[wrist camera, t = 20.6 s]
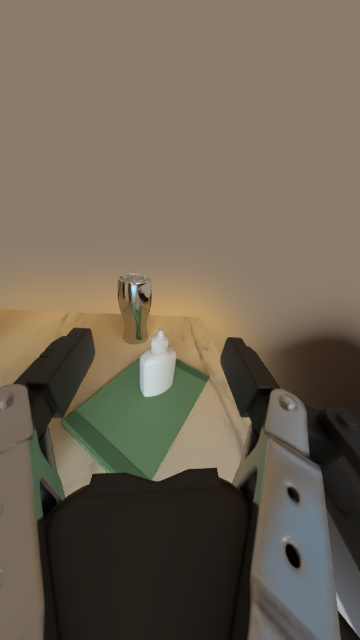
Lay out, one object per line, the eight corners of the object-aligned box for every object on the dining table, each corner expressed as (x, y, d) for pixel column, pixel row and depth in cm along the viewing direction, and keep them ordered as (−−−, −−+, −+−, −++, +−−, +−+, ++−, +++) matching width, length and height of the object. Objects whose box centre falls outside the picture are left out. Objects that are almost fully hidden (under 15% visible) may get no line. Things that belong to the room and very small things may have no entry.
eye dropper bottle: (142, 376, 30) (142, 320, 24) (172, 376, 31) (179, 323, 24) (138, 398, 26) (137, 338, 20) (172, 398, 27) (181, 341, 21)
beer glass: (130, 350, 36) (127, 285, 29) (116, 334, 40) (110, 274, 33) (155, 339, 41) (158, 280, 33) (140, 326, 45) (140, 271, 37)
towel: (61, 423, 22) (60, 421, 22) (153, 348, 38) (153, 346, 37) (138, 504, 17) (138, 502, 16) (209, 377, 32) (209, 375, 32)
